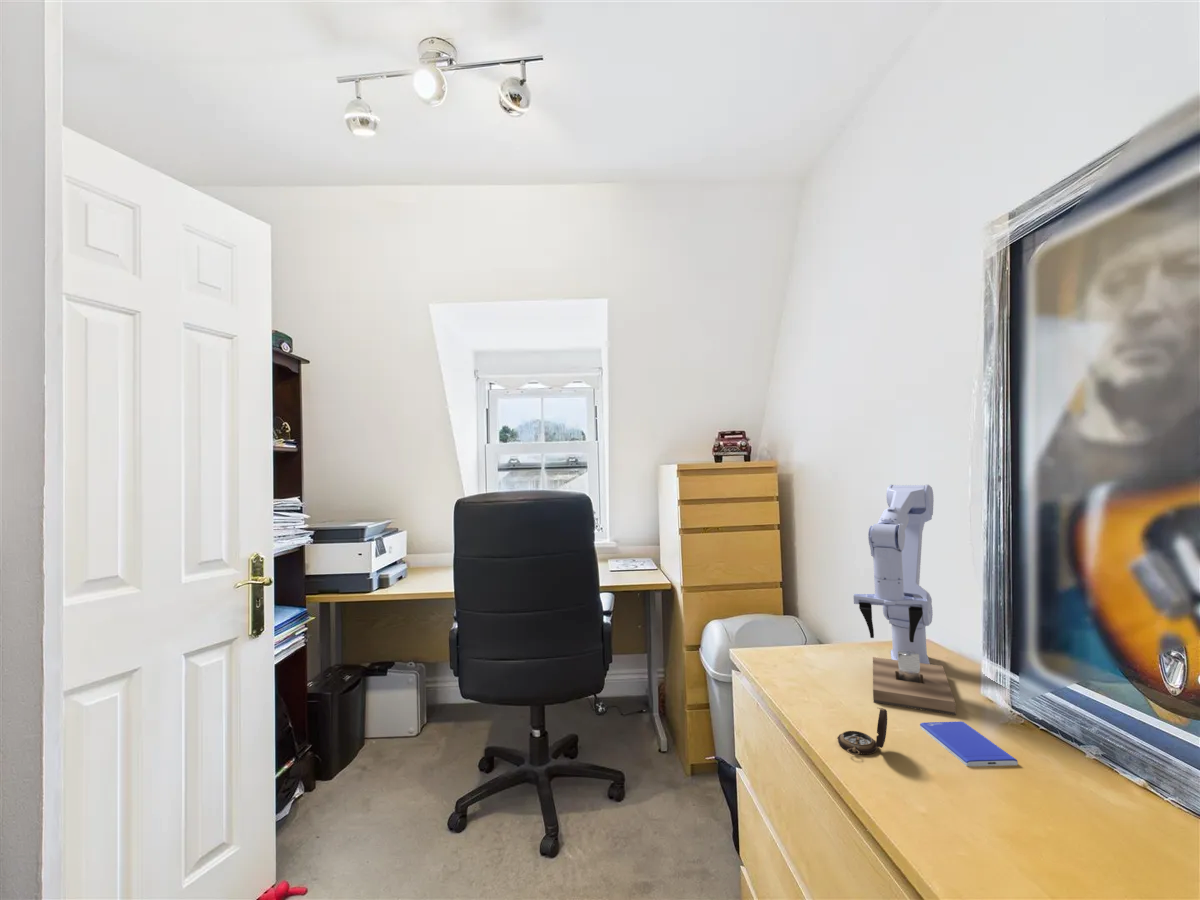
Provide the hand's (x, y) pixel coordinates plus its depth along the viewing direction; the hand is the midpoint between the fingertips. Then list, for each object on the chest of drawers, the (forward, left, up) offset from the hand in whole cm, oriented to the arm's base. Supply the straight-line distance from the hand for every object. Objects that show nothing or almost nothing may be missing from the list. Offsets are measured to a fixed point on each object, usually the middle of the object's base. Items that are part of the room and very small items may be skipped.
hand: (891, 638), depth 117 cm
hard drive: (+25, +10, -10) cm, 29 cm away
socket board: (+3, +3, -9) cm, 10 cm away
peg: (+3, +3, -9) cm, 10 cm away
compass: (+34, -6, -10) cm, 35 cm away
